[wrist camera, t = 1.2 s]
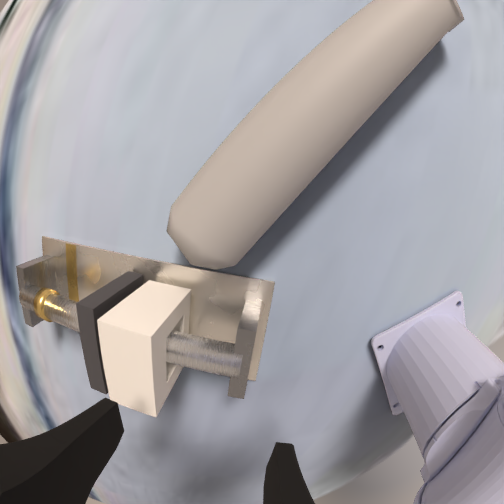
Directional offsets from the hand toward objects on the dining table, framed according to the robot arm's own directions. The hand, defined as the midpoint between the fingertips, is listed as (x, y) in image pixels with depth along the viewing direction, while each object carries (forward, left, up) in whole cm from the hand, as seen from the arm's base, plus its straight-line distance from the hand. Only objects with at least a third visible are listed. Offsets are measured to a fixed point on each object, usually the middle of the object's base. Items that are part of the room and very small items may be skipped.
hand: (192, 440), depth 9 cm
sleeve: (+2, +4, -10) cm, 11 cm away
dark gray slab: (+4, +6, -10) cm, 12 cm away
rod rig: (+4, +6, -10) cm, 12 cm away
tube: (+11, -12, -10) cm, 19 cm away
